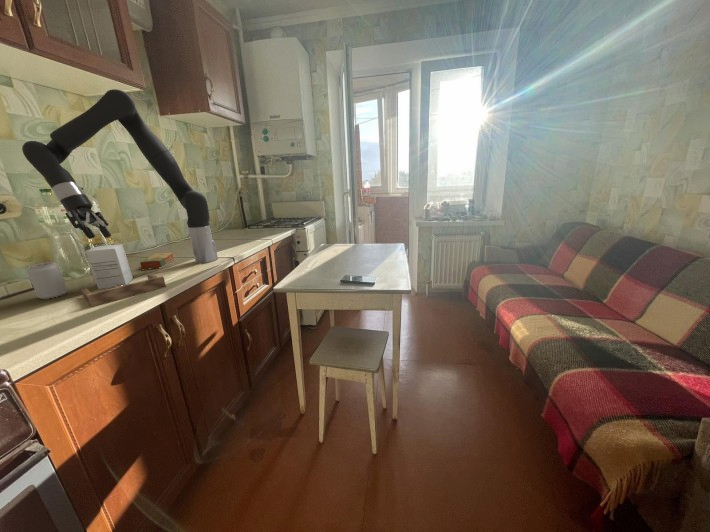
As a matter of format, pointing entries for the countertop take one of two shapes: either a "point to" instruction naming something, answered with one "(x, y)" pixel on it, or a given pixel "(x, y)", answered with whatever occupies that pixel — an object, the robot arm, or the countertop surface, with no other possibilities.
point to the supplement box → (109, 265)
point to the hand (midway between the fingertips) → (100, 237)
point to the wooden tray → (124, 290)
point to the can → (47, 280)
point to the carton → (156, 260)
